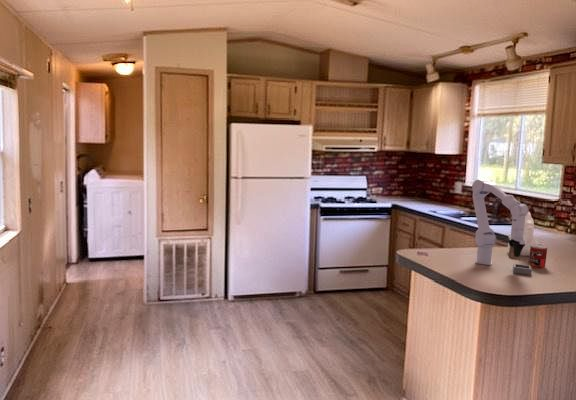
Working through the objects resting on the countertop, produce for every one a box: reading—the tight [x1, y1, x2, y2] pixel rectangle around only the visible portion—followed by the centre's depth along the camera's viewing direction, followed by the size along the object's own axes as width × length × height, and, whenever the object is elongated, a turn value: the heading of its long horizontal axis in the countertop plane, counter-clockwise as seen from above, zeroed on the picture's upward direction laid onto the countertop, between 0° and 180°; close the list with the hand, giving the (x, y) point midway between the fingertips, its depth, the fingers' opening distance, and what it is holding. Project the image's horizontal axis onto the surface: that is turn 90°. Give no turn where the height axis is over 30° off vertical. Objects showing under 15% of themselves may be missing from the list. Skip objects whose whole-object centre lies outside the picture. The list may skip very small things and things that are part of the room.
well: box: [512, 263, 533, 277], centre depth 255 cm, size 8×8×3 cm
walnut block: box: [508, 246, 522, 261], centre depth 254 cm, size 4×4×6 cm
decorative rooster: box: [507, 211, 539, 257], centre depth 291 cm, size 25×16×25 cm, turn 152°
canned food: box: [528, 244, 548, 269], centre depth 268 cm, size 8×8×11 cm
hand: (515, 255), depth 254 cm, fingers closed on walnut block, 4 cm apart
